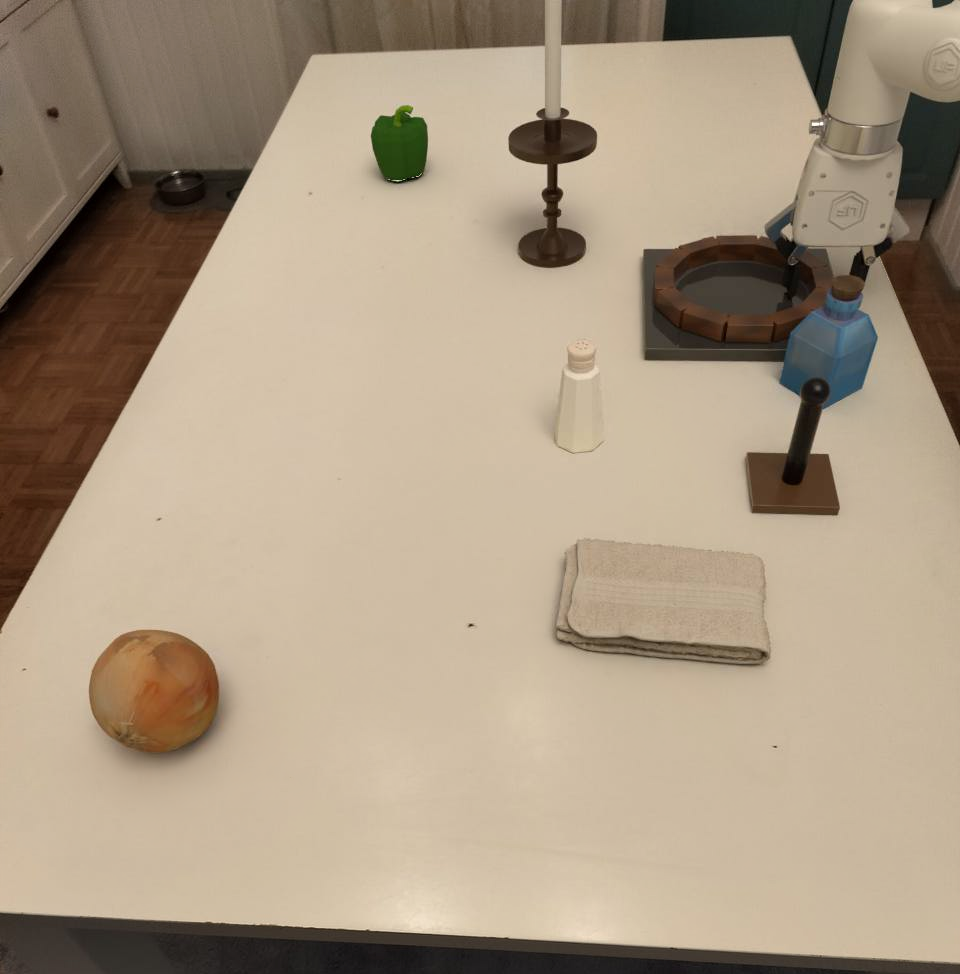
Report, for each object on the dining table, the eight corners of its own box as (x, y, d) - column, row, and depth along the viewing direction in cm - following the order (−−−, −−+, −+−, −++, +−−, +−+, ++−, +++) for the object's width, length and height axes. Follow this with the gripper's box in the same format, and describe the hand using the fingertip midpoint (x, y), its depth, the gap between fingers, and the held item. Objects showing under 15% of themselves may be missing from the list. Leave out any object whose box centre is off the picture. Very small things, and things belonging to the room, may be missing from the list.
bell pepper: (365, 179, 140) (354, 108, 132) (402, 159, 143) (393, 89, 136) (404, 193, 136) (395, 121, 128) (441, 172, 140) (435, 101, 132)
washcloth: (565, 554, 86) (566, 530, 83) (762, 567, 83) (768, 543, 81) (552, 652, 78) (553, 628, 76) (768, 670, 76) (775, 646, 73)
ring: (817, 251, 115) (821, 234, 114) (841, 343, 102) (846, 325, 101) (652, 252, 118) (653, 235, 116) (655, 341, 104) (657, 324, 103)
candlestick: (495, 251, 123) (480, -69, 96) (553, 222, 127) (555, -92, 100) (550, 280, 118) (552, -51, 91) (609, 249, 122) (627, -76, 95)
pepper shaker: (598, 457, 94) (603, 365, 86) (547, 450, 96) (547, 358, 87) (609, 425, 98) (615, 333, 89) (560, 419, 99) (561, 327, 90)
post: (826, 461, 92) (858, 354, 83) (837, 515, 87) (873, 408, 78) (745, 459, 93) (767, 353, 83) (751, 513, 88) (776, 406, 78)
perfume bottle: (862, 388, 99) (894, 285, 90) (822, 409, 97) (851, 306, 88) (818, 362, 103) (845, 260, 94) (779, 382, 101) (802, 280, 92)
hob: (823, 259, 117) (826, 247, 116) (851, 362, 103) (854, 349, 101) (642, 259, 120) (643, 247, 118) (644, 360, 105) (645, 347, 104)
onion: (101, 779, 73) (48, 706, 65) (131, 679, 79) (86, 602, 71) (221, 775, 72) (182, 701, 64) (242, 675, 79) (208, 597, 71)
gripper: (778, 147, 93) (748, 308, 107) (956, 145, 91) (902, 308, 105) (771, 117, 98) (743, 275, 112) (939, 114, 96) (890, 275, 110)
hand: (821, 290), depth 108 cm, fingers open, 6 cm apart
